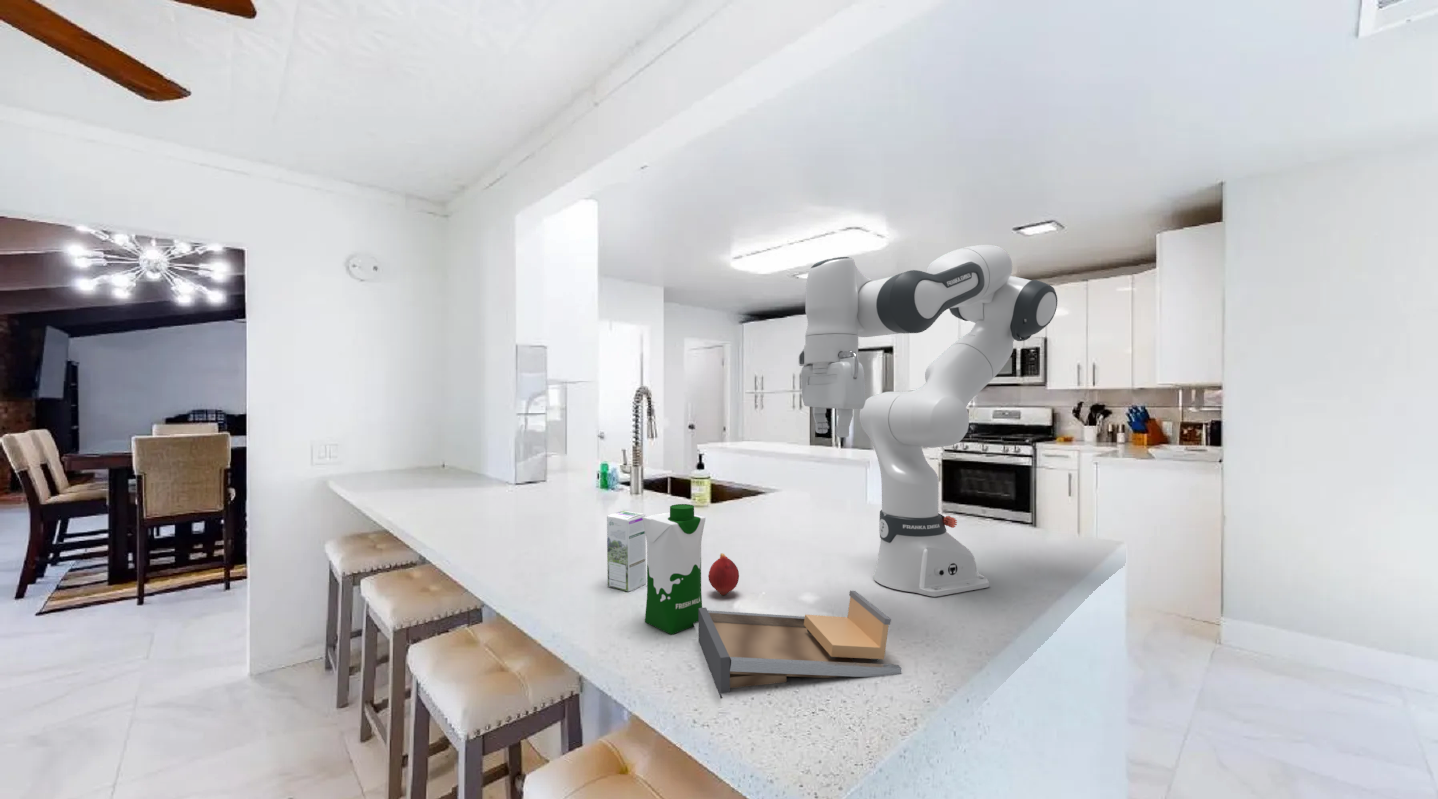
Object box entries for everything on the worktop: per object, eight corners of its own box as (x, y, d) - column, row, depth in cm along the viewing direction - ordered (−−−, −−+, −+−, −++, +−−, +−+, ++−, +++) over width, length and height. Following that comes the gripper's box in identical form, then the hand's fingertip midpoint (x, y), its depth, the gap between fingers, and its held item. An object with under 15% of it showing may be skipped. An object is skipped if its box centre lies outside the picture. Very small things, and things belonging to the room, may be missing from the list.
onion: (739, 590, 112) (739, 549, 112) (737, 601, 107) (737, 558, 106) (710, 589, 113) (710, 548, 113) (706, 599, 107) (706, 557, 107)
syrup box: (647, 584, 116) (647, 512, 116) (627, 592, 111) (627, 518, 111) (625, 579, 119) (625, 509, 119) (605, 587, 114) (605, 514, 114)
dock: (848, 632, 95) (848, 596, 94) (901, 684, 78) (901, 640, 78) (698, 646, 90) (698, 608, 89) (720, 704, 73) (720, 657, 73)
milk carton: (670, 638, 90) (670, 512, 90) (636, 622, 97) (636, 504, 97) (711, 622, 97) (710, 504, 96) (676, 608, 103) (676, 497, 103)
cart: (854, 631, 92) (855, 590, 92) (890, 665, 80) (890, 618, 80) (803, 635, 90) (803, 593, 90) (832, 671, 79) (832, 623, 79)
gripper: (876, 349, 88) (876, 439, 88) (827, 357, 108) (827, 430, 108) (837, 348, 86) (837, 440, 87) (795, 357, 107) (795, 431, 107)
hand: (831, 434), depth 97 cm, fingers open, 8 cm apart
